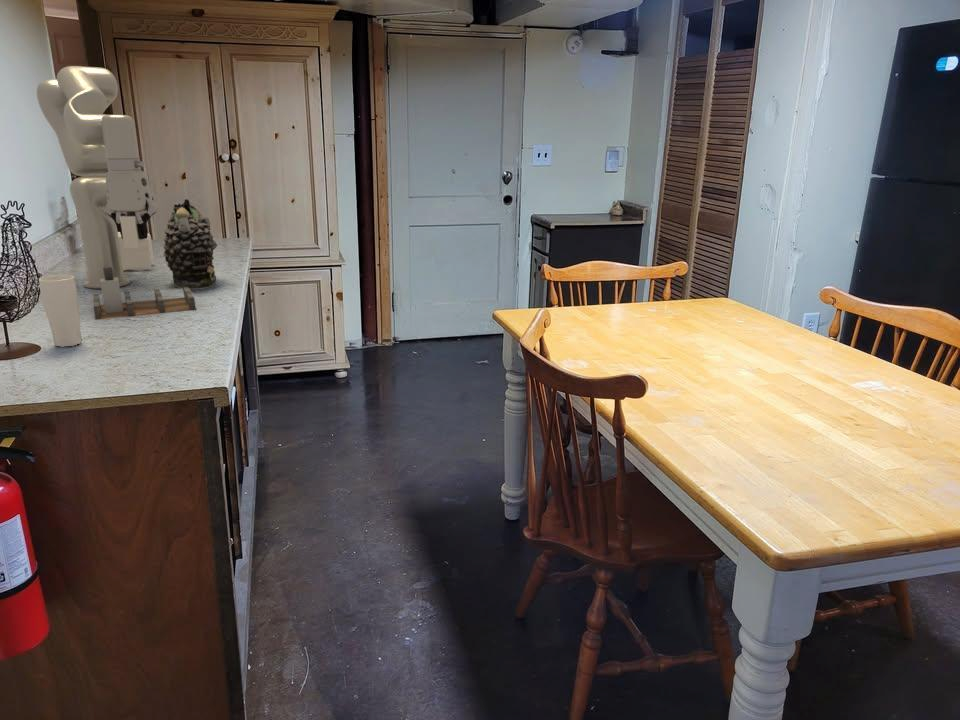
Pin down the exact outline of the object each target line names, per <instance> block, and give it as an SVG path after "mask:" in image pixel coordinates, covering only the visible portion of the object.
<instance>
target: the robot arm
mask: <svg viewBox="0 0 960 720" xmlns="http://www.w3.org/2000/svg"><path fill="white" fill-rule="evenodd" d="M118 92H119V87H118V81H117V79H116V78H115V75H114V74H113V73H112V72H111V71H110V70H109V69H107V68H104V67H97V66H84V65H82V66H80V65H68V66H65V67H62V68H61V69H60V70H59V71H58V73H57V75H56V78H51V79H46V80H42V81H41V82H39V83H38V85H37V87H36V97H37V101H38V104H39V108H40V110H41V112H42V114H43V116H44V118H45V119H46V121H47V123H48V124H49V125H50V126H51V128H52V130H53V131H54V132H55V134H56V138H57V139H58V143H59V146H60V149H61V152H62V154H63V158H64V160H65V161H64V162H65V163H66V166H67V168H68V170H69V171H70V173H72V174H73V175H75V176H78V177H76V178H75V179H73V180H72V181H71V182H70V185H69V191H70V196H71V199H72V202H73V204H74V208H75V210H76V214H77V219H78V224H79V229H80V234H81V242H82V246H83V247H82V248H83V254H84V258H85V260H84V261H85V265H86V271H87V277H88V279H86V280H84V281H83V282H82V283H83V287H84V288H87V289H101V282H100V279H102V278H104V272H103V268H104V267H112V271H113V278H115V277H118V281H119V287H120V288H121V287H123V286H127V285H130V284H131V283H132V282H131V278H129V277H127V276H125V274H124V273H125V271H123V265H122V259H121V252H120V245H119V238H118V232H120V234H121V237H122V239H123V235H122V228H121V222H120V216H125V215H127V212H135V214H136V217H137V220H138V224H137V230H138V237H139V239H145V238H147V237H148V236H147V235H148V227H147V226H148V225H147V223H149V220H150V219H151V218H152V216H154V215H155V214H156V213H158V209H157V208H156V206H155V205H154V203H153V202H154V201H153V197H152V191H151V188H150V184H149V181H148V178H147V174H146V172H145V171H142V168H144V167H145V162H144V161H141V159H140V155H139V148H138V141H137V140H138V139H137V133H136V127H135V120H134V119H133V118H132V116H131V115H126V114H105V111H106V109H108V107H109V106H110V105H112V103H113V102H114V101H115V100H116V99H117V97H118ZM146 211H147V212H146ZM114 220H115V221H114ZM116 223H117V224H118V226H119V228H118V226H117V224H116ZM118 229H119V231H118Z"/></svg>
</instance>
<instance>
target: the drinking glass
mask: <svg viewBox="0 0 960 720" xmlns="http://www.w3.org/2000/svg"><path fill="white" fill-rule="evenodd" d="M38 283H39V291H40V292H39V293H40V296H41V300H42V305H43V307H44V310H45V314H46V318H47V321H48V324H49V328H50V332H51V335H52V340H53V344H54V345H55V346H56V347H57V346H62V347H61V348H64V347H63V346H72V347H75V346H74V345H76V346H78V345H77V344H79V345H80V344H82V341H83V340H82V331H81V318H80V308H79V305H80V304H79V295H78V288H77V282H76V278H75V276H74V275H73V274H72V275H71V274H54V275H53V274H52V275H47V276H42V277H40V278H38Z"/></svg>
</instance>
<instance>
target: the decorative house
mask: <svg viewBox="0 0 960 720" xmlns="http://www.w3.org/2000/svg"><path fill="white" fill-rule="evenodd" d="M183 201H184V202H183V203H181V204H180V203H178V204H174V205H173V210H172V212H171V216H170V218H168V219H167V226H166V228H165V229H164V233H165V237H164V238H163V240H164V244H163V249H164V251H163V257H165V259H164V260H165V262H166V264H167V267H168V268H169V271H171V272H172V279H173V285H174V286H175V287H177V288H179V289H183V287H188V288H189V290H190V291H191V290H192V291H195V290H202V289H203V290H204V289H207V288H211V287H214V286H215V283H216V279H217V276H216V271H215V265H214V264H213V260H214V259H215V258H214V256H213V255H214V250H215V249H216V248H217V246H218V244H217V242H216V241H215V240H214V236H213V234H212V233H211V222H210V219H209V218H210V217H207V216H206V217H204V216H203V214H202V213H200V211H199V210H198V209H197V208H196V207H195V206H192V205H191V204H190V201H189V199H184V200H183Z"/></svg>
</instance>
